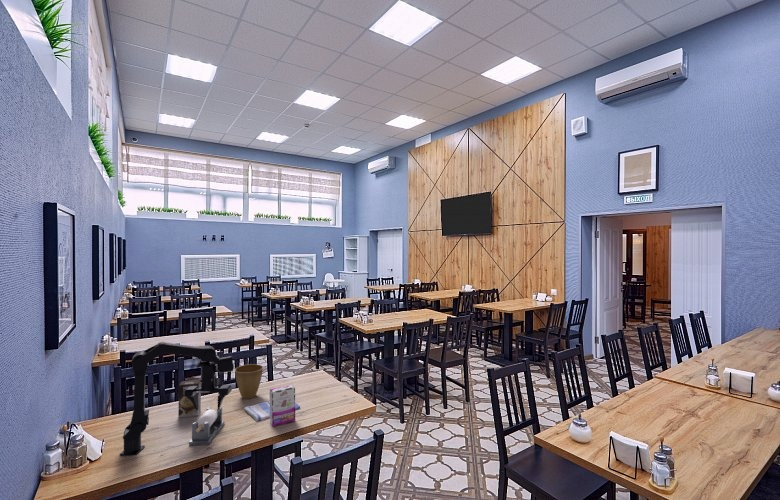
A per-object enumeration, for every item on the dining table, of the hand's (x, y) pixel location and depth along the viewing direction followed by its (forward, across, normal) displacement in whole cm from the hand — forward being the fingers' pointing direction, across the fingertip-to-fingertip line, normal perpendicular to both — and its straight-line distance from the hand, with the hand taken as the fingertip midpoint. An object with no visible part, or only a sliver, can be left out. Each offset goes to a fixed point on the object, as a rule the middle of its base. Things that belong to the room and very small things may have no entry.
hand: (208, 409), depth 166 cm
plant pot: (+11, -6, -43) cm, 45 cm away
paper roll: (+5, +1, 0) cm, 5 cm away
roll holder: (+11, 0, 0) cm, 11 cm away
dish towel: (+12, -23, -24) cm, 35 cm away
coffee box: (+11, +17, -22) cm, 30 cm away
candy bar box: (+11, -31, -9) cm, 34 cm away
